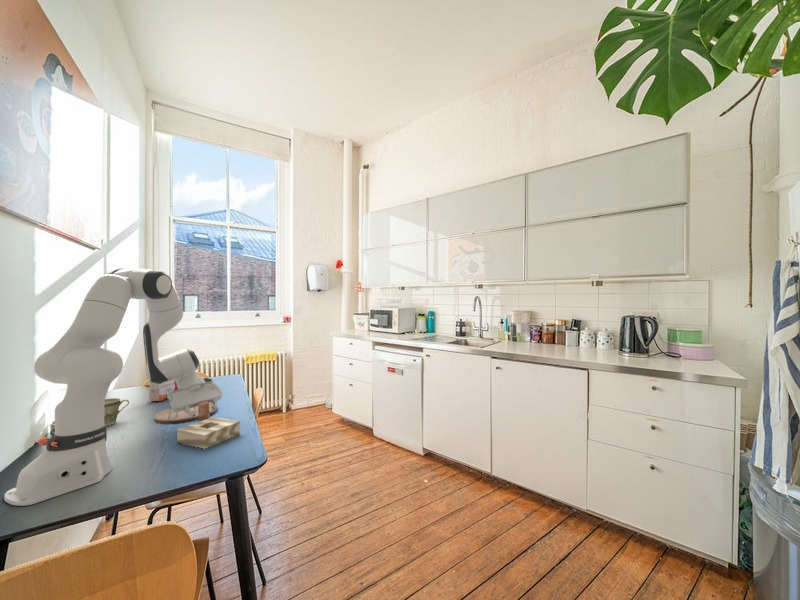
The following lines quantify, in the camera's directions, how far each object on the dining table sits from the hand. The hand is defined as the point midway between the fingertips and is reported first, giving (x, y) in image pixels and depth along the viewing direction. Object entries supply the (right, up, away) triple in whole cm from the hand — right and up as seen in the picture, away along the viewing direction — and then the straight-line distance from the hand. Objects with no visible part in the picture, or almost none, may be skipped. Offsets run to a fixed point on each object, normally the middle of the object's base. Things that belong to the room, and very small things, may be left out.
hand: (204, 412), depth 145 cm
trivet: (-18, -7, +17) cm, 26 cm away
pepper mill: (-32, -7, +33) cm, 46 cm away
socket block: (+9, -6, -13) cm, 17 cm away
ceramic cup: (-45, -7, +6) cm, 46 cm away
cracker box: (-48, -7, +45) cm, 66 cm away
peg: (0, -6, 0) cm, 6 cm away
